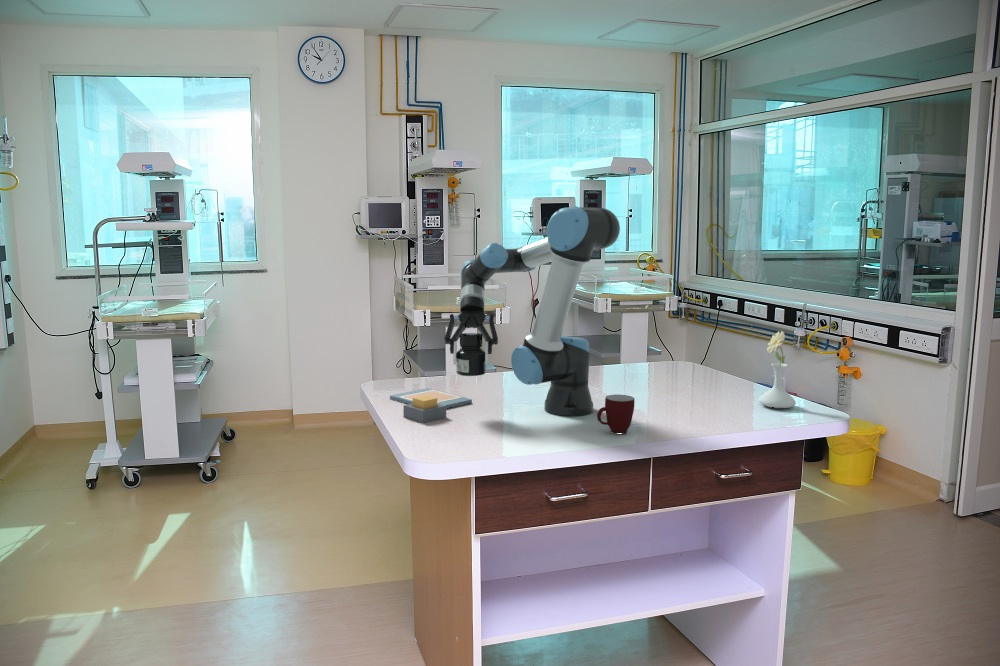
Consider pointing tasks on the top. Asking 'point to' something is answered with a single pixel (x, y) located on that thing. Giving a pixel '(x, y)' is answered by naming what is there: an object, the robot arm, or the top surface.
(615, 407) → the mug
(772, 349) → the flower in vase
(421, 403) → the button
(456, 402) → the picture board
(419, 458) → the top surface
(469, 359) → the ink bottle
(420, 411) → the button housing
